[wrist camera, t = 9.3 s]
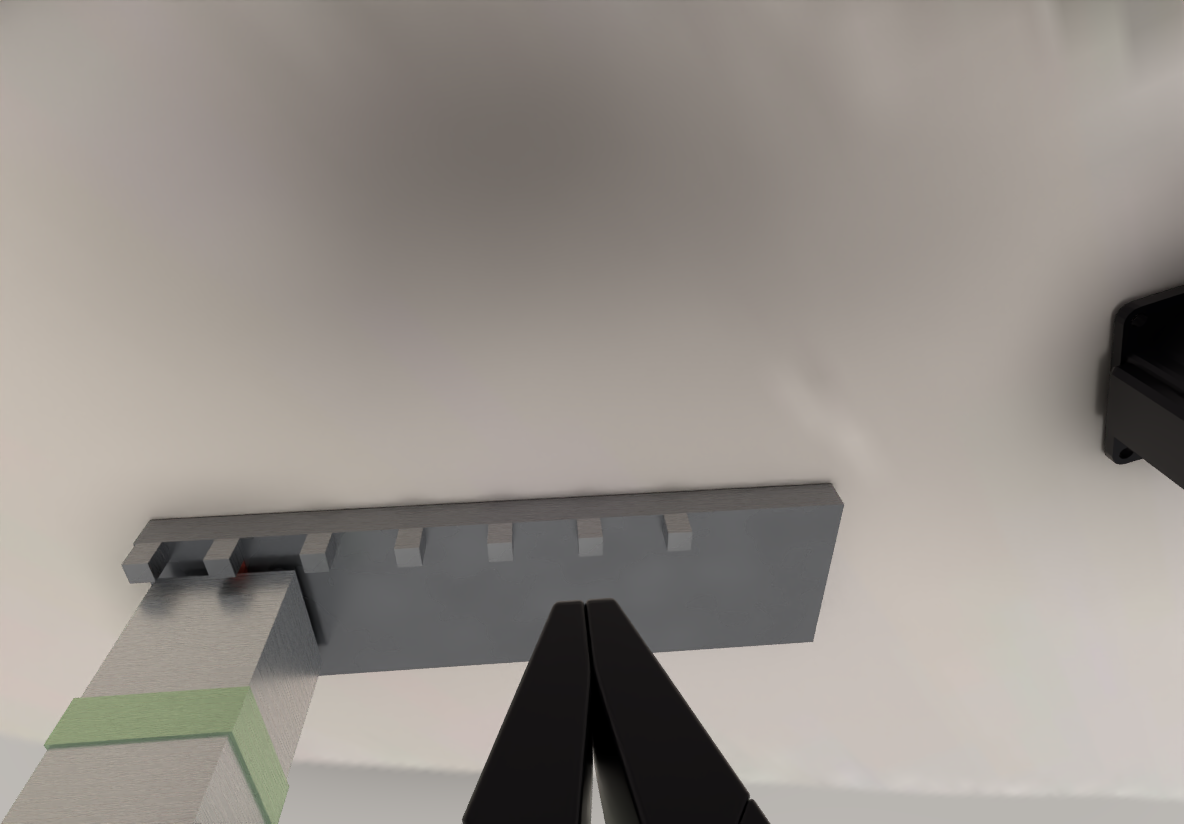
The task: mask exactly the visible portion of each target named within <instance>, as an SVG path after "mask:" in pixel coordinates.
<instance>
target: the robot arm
mask: <svg viewBox="0 0 1184 824" xmlns="http://www.w3.org/2000/svg"><path fill="white" fill-rule="evenodd" d="M1136 315H1137V317H1136V318H1135V319H1134V320H1133V321H1132V319H1133V318H1134V317H1135V316H1136ZM1105 455H1106V456H1107V457H1108V458H1110V459H1111V460H1112V461H1113V462H1115V463H1116V464H1126V463H1129V462H1133V461H1136V460H1140V459H1144V460H1146V461H1147V462H1148V463H1150V464H1151V465H1152V466H1154V467H1155V468H1156V469H1158V470H1159V471H1160V472H1161V473H1163V474H1164V475H1165V476H1167V477H1168V478H1169V479H1171V480H1172V481H1173V482H1175V483H1176V484H1177V485H1179V486H1180V487H1181V488H1183V489H1184V285H1183V286H1180V287H1177V288H1173V289H1170V290H1167V291H1164V292H1161V293H1158V294H1154V295H1151V296H1148V297H1145V298H1142V299H1139V300H1136V301H1132V302H1130V303H1128V304H1126V305H1124V306H1123V307H1122V308H1121V309H1120V310H1119V311H1118V313H1117V314H1116V317H1115V321H1114V334H1113V347H1112V360H1111V373H1110V379H1109V392H1108V405H1107V418H1106V438H1105ZM593 755H594V764H595V771H596V777H597V782H598V788H599V793H600V798H601V803H602V808H603V813H604V819H605V824H770V822H769V821H768V819H767V818H766V817H765V815H764V814H763V812H762V811H761V809H760V808H759V806H758V805H757V803H756V802H755V801H754V800H753V799H750V800H749V798H750V794H749V792H748V791H747V789H746V788H745V787H744V785H743V784H742V782H741V781H740V779H739V778H738V776H737V775H736V773H735V772H734V771H733V769H732V768H731V766H730V765H729V763H728V762H727V760H726V759H725V758H724V756H723V755H722V753H721V752H720V750H719V749H718V747H717V746H716V744H715V743H714V742H713V740H712V739H711V737H710V736H709V734H708V733H707V731H706V730H705V729H704V727H703V726H702V724H701V723H700V721H699V720H698V718H697V717H696V715H695V714H694V713H693V711H692V710H691V708H690V707H689V705H688V704H687V702H686V701H685V700H684V698H683V697H682V695H681V694H680V692H679V691H678V689H677V688H676V686H675V685H674V684H673V682H672V681H671V679H670V678H669V676H668V675H667V673H666V672H665V670H664V669H663V668H662V666H661V665H660V663H659V662H658V660H657V659H656V657H655V656H654V655H653V653H652V652H651V650H650V649H649V647H648V646H647V644H646V643H645V641H644V640H643V639H642V637H641V636H640V634H639V633H638V631H637V630H636V628H635V627H634V626H633V624H632V623H631V621H630V620H629V618H628V617H627V615H626V614H625V612H624V611H623V610H622V608H621V607H620V605H619V604H618V602H617V601H616V600H615V599H613V598H599V599H588V600H587V601H586V603H585V605H584V602H583V601H581V600H568V601H557V602H556V603H554V605H553V606H552V609H551V611H550V613H549V616H548V618H547V620H546V623H545V625H544V627H543V630H542V632H541V634H540V637H539V639H538V642H537V644H536V646H535V649H534V651H533V653H532V656H531V658H530V660H529V663H528V665H527V667H526V670H525V672H524V674H523V677H522V679H521V682H520V684H519V686H518V689H517V691H516V693H515V696H514V698H513V700H512V703H511V705H510V707H509V710H508V712H507V715H506V717H505V719H504V722H503V724H502V726H501V729H500V731H499V733H498V736H497V738H496V740H495V743H494V745H493V747H492V750H491V752H490V755H489V757H488V759H487V762H486V764H485V766H484V769H483V771H482V773H481V776H480V778H479V781H478V783H477V785H476V788H475V790H474V792H473V795H472V797H471V799H470V802H469V804H468V806H467V809H466V811H465V813H464V816H463V819H462V822H463V824H591V806H592V784H593Z"/></svg>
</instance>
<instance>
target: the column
mask: <svg viewBox="0 0 1184 824" xmlns="http://www.w3.org/2000/svg"><path fill="white" fill-rule="evenodd" d="M321 666H322V659H321V656H320V652H319V649H318V646H317V642H316V639H315V636H314V632H313V629H312V626H311V622H310V619H309V616H308V612H307V609H306V606H305V602H304V599H303V596H302V592H301V589H300V586H299V582H298V579H297V576H296V573H295V570H290V571H273V572H256V573H239V574H237V575H236V577H230V578H213V579H210V577H209V575H205V576H188V577H171V578H158V579H157V581H156V582H154V583H153V584H152V586H151V588H150V589H149V591H148V592H147V594H146V595H145V597H144V599H143V600H142V602H141V603H140V605H139V606H138V608H137V610H136V611H135V613H134V614H133V616H132V618H131V619H130V621H129V622H128V624H127V625H126V627H125V629H124V630H123V632H122V633H121V635H120V636H119V638H118V640H117V641H116V643H115V644H114V646H113V648H112V649H111V651H110V652H109V654H108V655H107V657H106V659H105V660H104V662H103V663H102V665H101V666H100V668H99V670H98V671H97V673H96V674H95V676H94V678H93V679H92V681H91V682H90V684H89V685H88V687H87V689H86V690H85V692H84V693H83V695H82V696H81V698H74V699H73V700H72V702H71V703H70V705H69V707H68V708H67V710H66V711H65V713H64V714H63V716H62V717H61V719H60V721H59V722H58V724H57V725H56V727H55V728H54V730H53V732H52V733H51V735H50V736H49V738H48V739H47V741H46V742H45V744H44V746H45V748H46V749H47V752H46V753H45V755H44V757H43V758H42V760H41V762H40V763H39V764H38V766H37V768H36V769H35V771H34V772H33V774H32V776H31V777H30V779H29V780H28V782H27V783H26V785H25V787H24V788H23V790H22V791H21V793H20V794H19V796H18V798H17V799H16V801H15V802H14V804H13V805H12V807H11V809H10V810H9V812H8V813H7V815H6V816H5V818H4V820H3V821H2V823H1V824H278V822H279V818H280V815H281V811H282V808H283V805H284V802H285V798H286V795H287V792H288V788H289V785H288V783H287V777H288V773H289V770H290V767H291V764H292V760H293V757H294V754H295V751H296V747H297V744H298V741H299V738H300V734H301V731H302V728H303V724H304V721H305V718H306V715H307V711H308V708H309V705H310V702H311V698H312V695H313V692H314V688H315V685H316V682H317V679H318V675H319V672H320V669H321Z"/></svg>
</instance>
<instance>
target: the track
mask: <svg viewBox="0 0 1184 824" xmlns="http://www.w3.org/2000/svg"><path fill="white" fill-rule="evenodd" d="M843 507H844V503H843V502H842V500H841V499H840V497H839V495H838V494H837V492H836V491H835V489H834V487H833V486H832V484H818V485H799V486H781V487H762V488H743V489H725V490H706V491H688V492H669V493H650V494H632V495H613V496H594V497H576V498H557V499H538V500H520V501H501V502H482V503H464V504H445V505H426V506H408V507H389V508H370V509H352V510H333V511H315V512H296V513H277V514H259V515H240V516H221V517H203V518H184V519H165V520H150V521H149V522H148V524H147V525H146V527H145V528H144V529H143V531H142V532H141V534H140V535H139V536H138V538H137V539H136V541H135V542H134V543H133V544H134V548H133V549H132V551H131V552H130V553H129V555H128V556H127V558H126V559H125V560H124V562H123V563H122V567H123V570H124V572H125V574H126V576H127V578H128V580H129V582H130V583H146V582H151V585H152V584H153V583H154V582H156V581H157V579H158V578H171V577H188V576H205V575H209V577H210V579H213V578H230V577H236V575H237V574H239V573H256V572H273V571H290V570H295V573H296V576H297V579H298V582H299V586H300V589H301V592H302V596H303V599H304V602H305V606H306V609H307V612H308V616H309V619H310V622H311V626H312V629H313V632H314V636H315V639H316V642H317V646H318V649H319V652H320V656H321V659H322V666H321V669H320V672H319V675H318V676H321V675H336V674H351V673H365V672H380V671H394V670H409V669H423V668H438V667H452V666H467V665H481V664H496V663H511V662H525V661H529V660H530V658H531V656H532V653H533V651H534V649H535V646H536V644H537V642H538V639H539V637H540V634H541V632H542V630H543V627H544V625H545V623H546V620H547V618H548V616H549V613H550V611H551V609H552V606H553V605H554V603H556V602H557V601H568V600H581V601H583V602H584V605H585V603H586V601H587V600H588V599H599V598H613V599H615V600H616V601H617V602H618V604H619V605H620V607H621V608H622V610H623V611H624V612H625V614H626V615H627V617H628V618H629V620H630V621H631V623H632V624H633V626H634V627H635V628H636V630H637V631H638V633H639V634H640V636H641V637H642V639H643V640H644V641H645V643H646V644H647V646H648V647H649V649H650V650H651V652H652V653H656V652H671V651H685V650H700V649H714V648H729V647H743V646H758V645H772V644H787V643H802V642H813V639H814V634H815V630H816V625H817V621H818V617H819V612H820V608H821V603H822V599H823V595H824V590H825V586H826V581H827V577H828V573H829V568H830V564H831V559H832V555H833V551H834V546H835V542H836V537H837V533H838V529H839V524H840V520H841V515H842V511H843Z"/></svg>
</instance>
